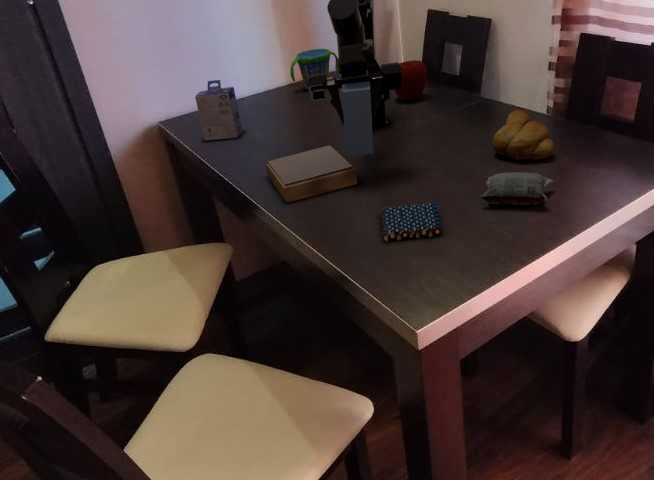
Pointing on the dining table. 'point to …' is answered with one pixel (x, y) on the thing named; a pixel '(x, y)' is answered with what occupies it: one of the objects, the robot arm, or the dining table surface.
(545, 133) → the bread roll
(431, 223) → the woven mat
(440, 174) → the dining table surface
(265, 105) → the dining table surface
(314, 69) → the snack cup
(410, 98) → the apple
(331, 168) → the stand
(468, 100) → the dining table surface
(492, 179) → the packaged food
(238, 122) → the ink cartridge box
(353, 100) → the packet
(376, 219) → the dining table surface
